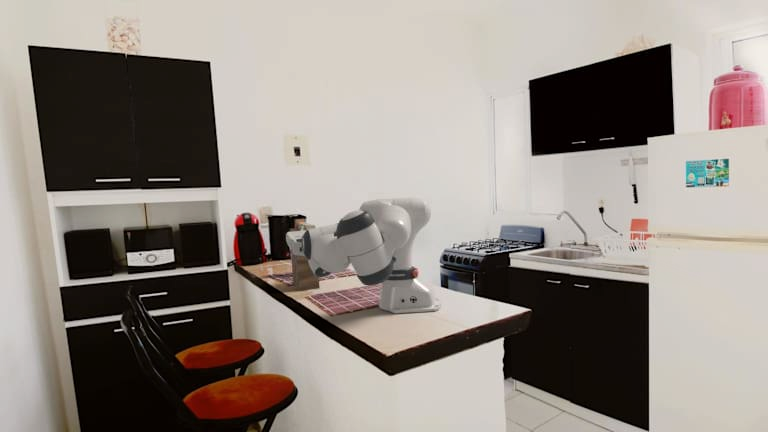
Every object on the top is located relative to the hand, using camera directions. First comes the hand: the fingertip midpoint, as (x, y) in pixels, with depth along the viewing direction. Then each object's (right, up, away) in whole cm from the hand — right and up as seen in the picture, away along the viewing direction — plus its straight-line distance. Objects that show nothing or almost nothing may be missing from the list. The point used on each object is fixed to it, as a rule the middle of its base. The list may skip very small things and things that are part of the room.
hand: (308, 226), depth 175 cm
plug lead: (-3, -1, +9) cm, 9 cm away
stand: (-4, -27, +14) cm, 31 cm away
